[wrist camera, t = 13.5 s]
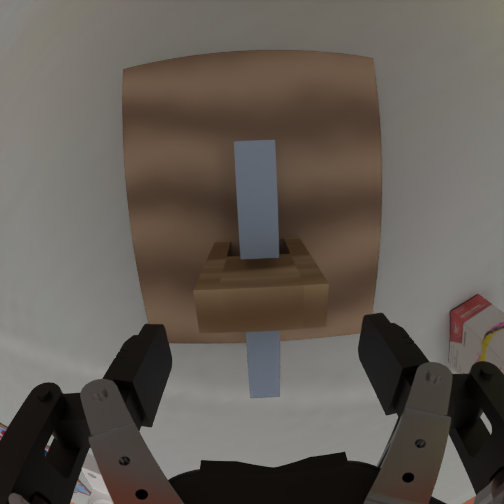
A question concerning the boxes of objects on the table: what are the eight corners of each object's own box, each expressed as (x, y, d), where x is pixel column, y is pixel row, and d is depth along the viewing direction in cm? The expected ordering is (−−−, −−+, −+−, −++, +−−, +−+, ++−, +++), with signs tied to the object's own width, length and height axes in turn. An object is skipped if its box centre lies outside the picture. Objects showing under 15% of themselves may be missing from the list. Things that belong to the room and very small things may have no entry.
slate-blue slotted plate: (239, 149, 20) (233, 141, 13) (266, 148, 20) (275, 139, 13) (250, 342, 25) (250, 398, 18) (273, 341, 25) (279, 396, 18)
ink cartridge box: (447, 311, 25) (530, 391, 11) (478, 292, 25) (562, 358, 11) (446, 364, 28) (506, 442, 14) (475, 346, 27) (537, 414, 13)
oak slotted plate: (215, 241, 22) (193, 290, 13) (299, 237, 22) (328, 283, 13) (217, 271, 23) (199, 333, 14) (299, 267, 23) (325, 326, 14)
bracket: (132, 491, 38) (124, 519, 31) (100, 481, 38) (90, 507, 30) (123, 465, 34) (111, 498, 27) (86, 452, 34) (72, 482, 27)
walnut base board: (127, 72, 19) (123, 69, 18) (368, 61, 19) (372, 57, 18) (156, 336, 26) (153, 342, 25) (365, 326, 26) (369, 331, 25)
